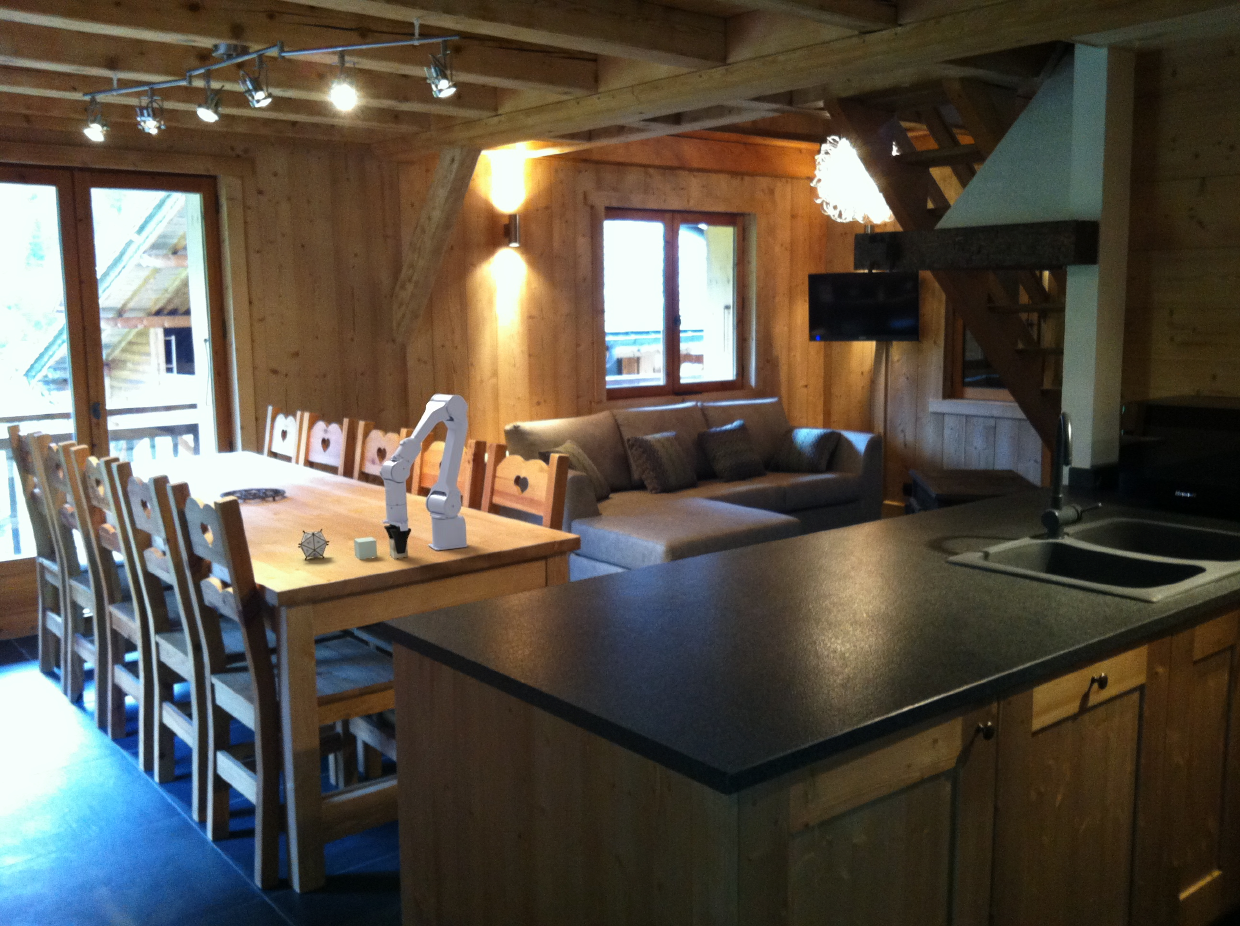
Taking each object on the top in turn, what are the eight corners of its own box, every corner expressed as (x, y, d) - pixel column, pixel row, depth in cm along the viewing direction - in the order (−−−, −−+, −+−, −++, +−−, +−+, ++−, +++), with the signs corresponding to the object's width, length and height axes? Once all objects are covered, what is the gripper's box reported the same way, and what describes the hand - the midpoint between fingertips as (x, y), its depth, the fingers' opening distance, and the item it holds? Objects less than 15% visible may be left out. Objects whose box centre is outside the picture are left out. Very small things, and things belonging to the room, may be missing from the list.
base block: (372, 554, 307) (371, 536, 306) (377, 557, 302) (376, 540, 301) (355, 556, 304) (354, 539, 304) (359, 560, 300) (358, 542, 299)
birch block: (404, 554, 305) (403, 537, 304) (408, 557, 302) (407, 539, 301) (390, 556, 303) (389, 538, 303) (393, 559, 300) (393, 541, 299)
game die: (318, 572, 302) (318, 548, 295) (291, 561, 303) (290, 537, 296) (335, 551, 308) (335, 527, 301) (309, 539, 309) (308, 516, 303)
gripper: (375, 501, 305) (377, 548, 307) (388, 509, 292) (391, 558, 294) (400, 498, 308) (402, 545, 310) (414, 506, 295) (416, 555, 297)
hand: (398, 551), depth 302 cm, fingers closed on birch block, 4 cm apart
